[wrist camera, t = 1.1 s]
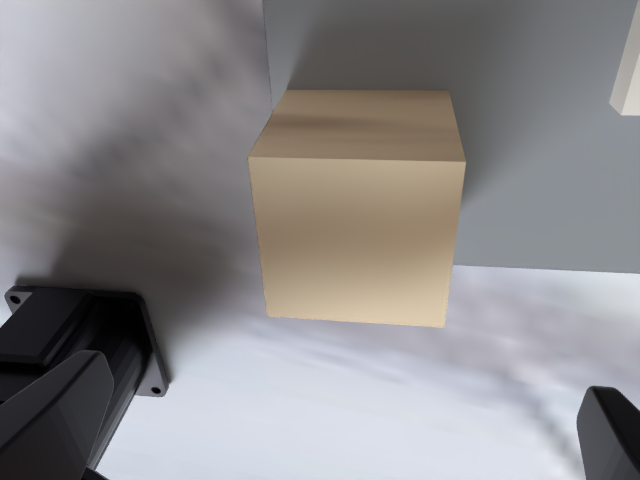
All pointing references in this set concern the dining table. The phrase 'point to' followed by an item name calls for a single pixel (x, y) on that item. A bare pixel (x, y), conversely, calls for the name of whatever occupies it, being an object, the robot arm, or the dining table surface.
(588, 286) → the dining table surface
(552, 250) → the building board
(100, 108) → the dining table surface
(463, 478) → the dining table surface
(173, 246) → the dining table surface
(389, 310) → the maple block
